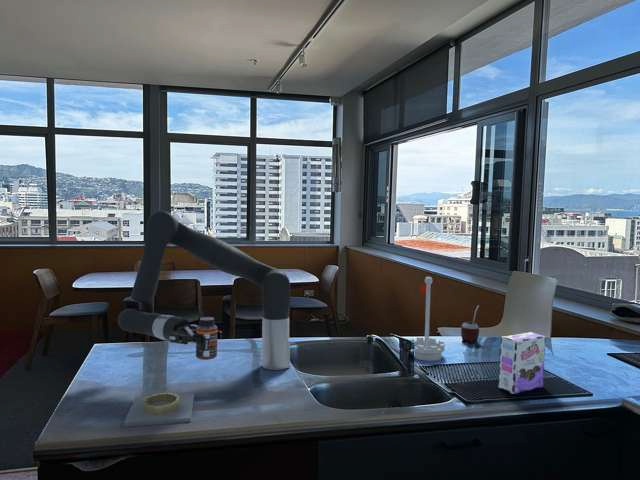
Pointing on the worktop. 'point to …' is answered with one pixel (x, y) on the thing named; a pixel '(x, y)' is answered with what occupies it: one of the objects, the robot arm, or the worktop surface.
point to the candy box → (521, 362)
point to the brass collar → (164, 408)
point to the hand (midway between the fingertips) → (213, 337)
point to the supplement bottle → (207, 339)
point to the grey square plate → (179, 415)
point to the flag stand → (427, 333)
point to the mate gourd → (470, 331)
